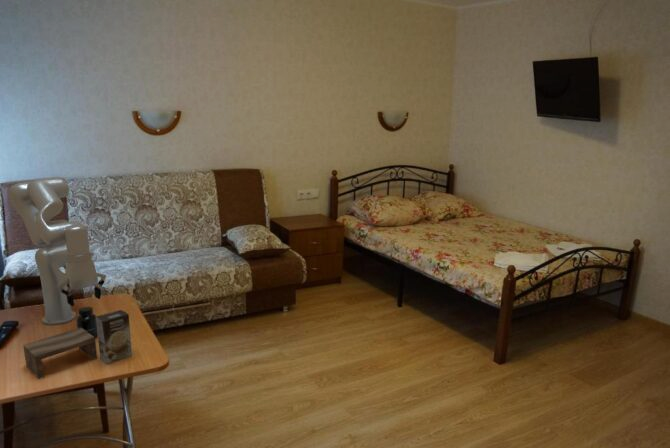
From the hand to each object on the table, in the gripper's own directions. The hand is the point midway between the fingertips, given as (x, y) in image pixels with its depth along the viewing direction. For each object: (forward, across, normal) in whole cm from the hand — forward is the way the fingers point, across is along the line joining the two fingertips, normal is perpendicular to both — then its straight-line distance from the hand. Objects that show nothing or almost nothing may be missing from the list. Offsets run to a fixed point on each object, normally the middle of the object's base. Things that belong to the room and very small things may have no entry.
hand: (85, 301), depth 191 cm
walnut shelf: (+16, +14, +11) cm, 24 cm away
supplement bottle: (+15, 0, -1) cm, 15 cm away
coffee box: (+16, 0, +22) cm, 27 cm away
